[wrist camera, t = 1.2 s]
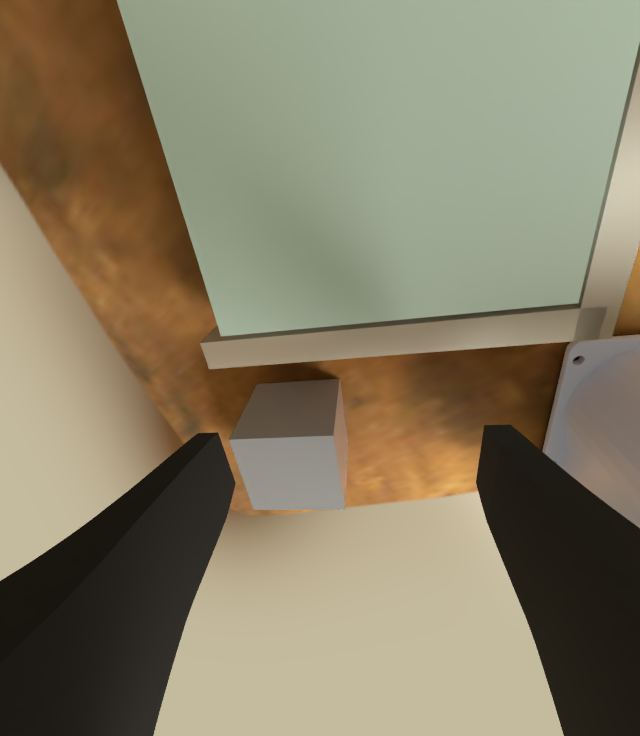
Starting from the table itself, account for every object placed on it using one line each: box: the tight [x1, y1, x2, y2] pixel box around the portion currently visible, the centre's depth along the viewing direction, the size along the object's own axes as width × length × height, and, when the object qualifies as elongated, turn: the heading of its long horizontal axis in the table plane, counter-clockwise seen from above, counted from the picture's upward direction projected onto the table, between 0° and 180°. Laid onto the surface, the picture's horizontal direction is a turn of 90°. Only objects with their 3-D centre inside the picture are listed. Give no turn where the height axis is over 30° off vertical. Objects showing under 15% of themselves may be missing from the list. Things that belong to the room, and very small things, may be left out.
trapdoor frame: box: [200, 43, 640, 369], centre depth 11 cm, size 15×15×5 cm
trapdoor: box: [117, 0, 640, 336], centre depth 9 cm, size 12×12×1 cm
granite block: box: [229, 379, 348, 510], centre depth 19 cm, size 5×5×5 cm
